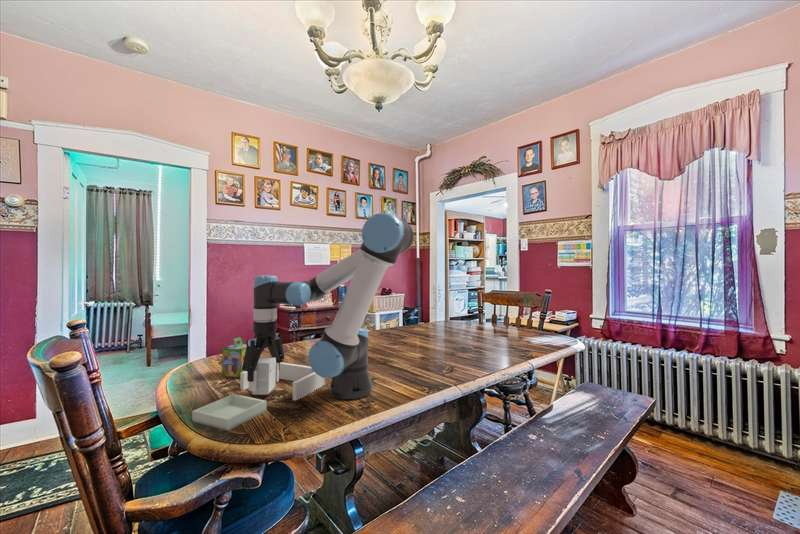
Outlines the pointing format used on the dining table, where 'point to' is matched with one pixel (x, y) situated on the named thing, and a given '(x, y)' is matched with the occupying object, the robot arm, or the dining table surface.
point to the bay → (294, 379)
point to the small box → (265, 375)
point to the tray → (229, 411)
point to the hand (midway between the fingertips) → (264, 385)
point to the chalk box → (233, 359)
